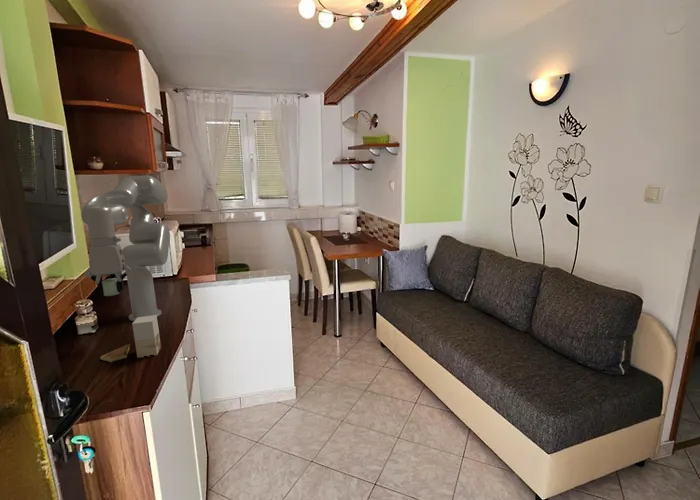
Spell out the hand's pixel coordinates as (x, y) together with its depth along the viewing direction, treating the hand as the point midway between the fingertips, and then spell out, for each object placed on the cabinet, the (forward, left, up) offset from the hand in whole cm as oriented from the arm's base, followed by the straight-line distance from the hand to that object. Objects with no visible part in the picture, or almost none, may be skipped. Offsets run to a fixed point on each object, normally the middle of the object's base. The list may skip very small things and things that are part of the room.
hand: (111, 291), depth 136 cm
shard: (+12, +2, -20) cm, 23 cm away
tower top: (+13, +13, -13) cm, 23 cm away
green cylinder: (0, 0, -1) cm, 1 cm away
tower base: (+13, +13, -19) cm, 27 cm away
